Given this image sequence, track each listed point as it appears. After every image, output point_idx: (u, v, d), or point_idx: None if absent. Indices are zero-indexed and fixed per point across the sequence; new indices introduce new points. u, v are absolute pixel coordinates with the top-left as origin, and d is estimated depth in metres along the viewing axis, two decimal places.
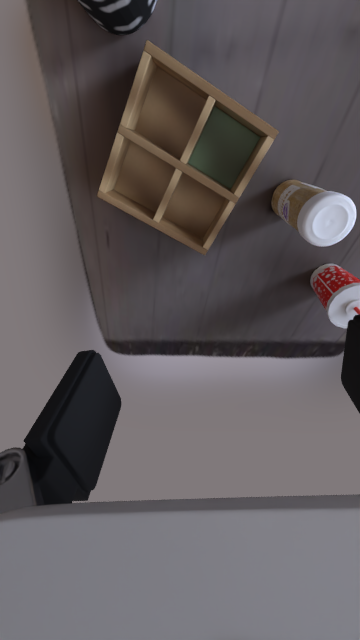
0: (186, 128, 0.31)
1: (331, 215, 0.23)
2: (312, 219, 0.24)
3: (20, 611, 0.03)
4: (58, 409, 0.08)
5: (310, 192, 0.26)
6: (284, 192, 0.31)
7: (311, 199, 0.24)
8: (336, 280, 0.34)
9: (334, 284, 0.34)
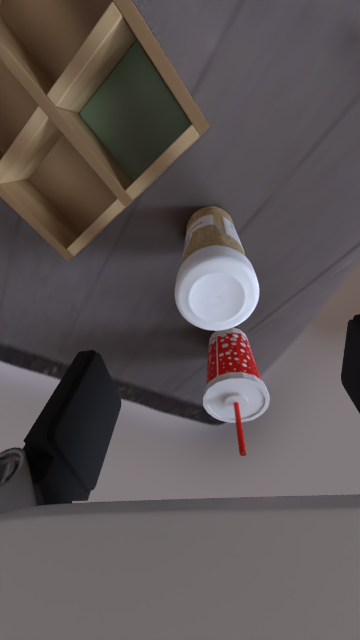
0: None
1: (221, 289, 0.14)
2: (191, 283, 0.14)
3: (20, 611, 0.03)
4: (58, 409, 0.08)
5: (215, 237, 0.16)
6: (197, 221, 0.21)
7: (203, 250, 0.14)
8: (229, 357, 0.26)
9: (225, 363, 0.26)
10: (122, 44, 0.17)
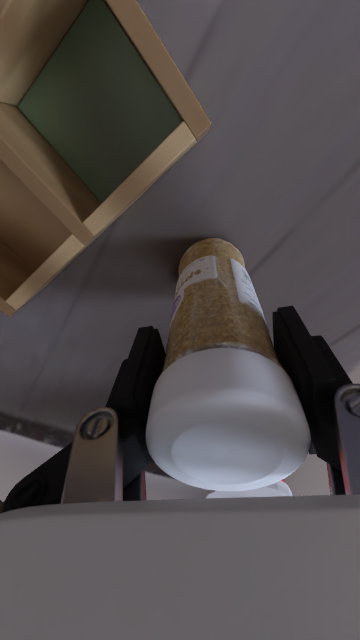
0: None
1: (237, 442, 0.07)
2: (175, 433, 0.07)
3: (20, 611, 0.03)
4: (136, 374, 0.09)
5: (221, 314, 0.09)
6: (193, 266, 0.14)
7: (199, 360, 0.07)
8: None
9: None
10: None
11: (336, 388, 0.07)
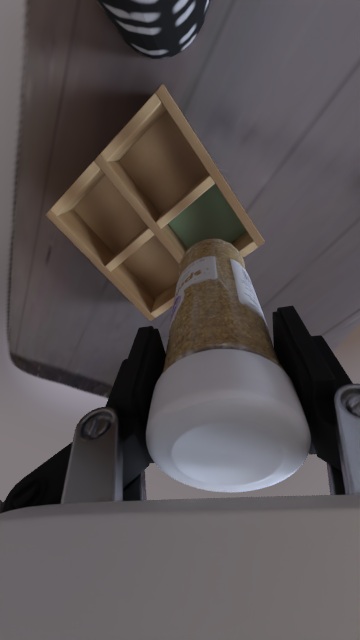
0: (176, 186, 0.27)
1: (236, 443, 0.07)
2: (176, 434, 0.07)
3: (20, 611, 0.03)
4: (136, 374, 0.09)
5: (221, 315, 0.09)
6: (193, 267, 0.14)
7: (200, 362, 0.07)
8: None
9: None
10: None
11: (336, 388, 0.07)
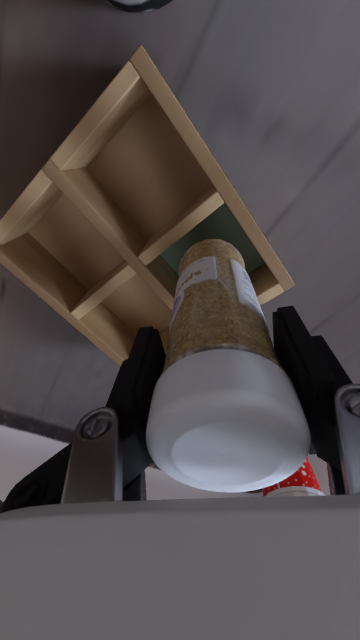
0: (169, 202, 0.19)
1: (237, 444, 0.07)
2: (176, 434, 0.07)
3: (20, 611, 0.03)
4: (136, 374, 0.09)
5: (221, 315, 0.09)
6: (193, 267, 0.14)
7: (200, 362, 0.07)
8: None
9: None
10: None
11: (336, 388, 0.07)
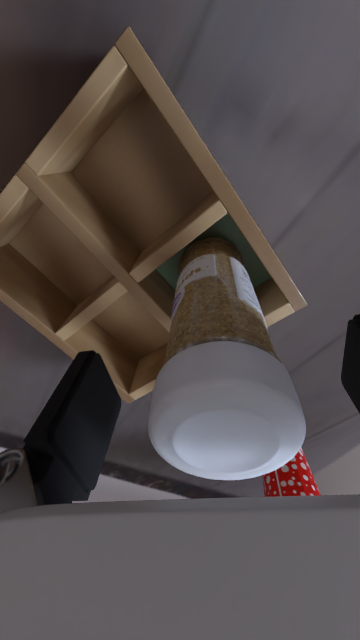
0: (164, 210, 0.17)
1: (235, 431, 0.07)
2: (176, 422, 0.07)
3: (20, 611, 0.03)
4: (58, 409, 0.08)
5: (220, 310, 0.10)
6: (193, 264, 0.14)
7: (199, 353, 0.08)
8: (294, 491, 0.24)
9: None
10: None
11: None
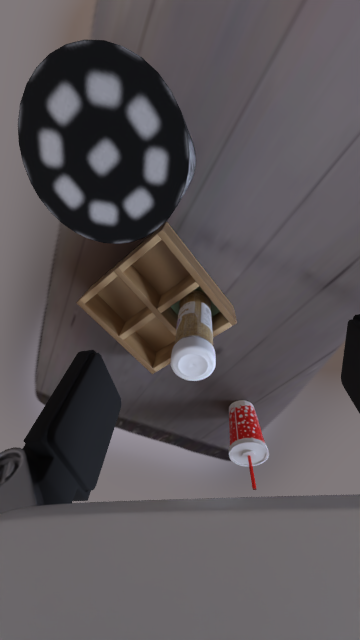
0: (172, 278, 0.37)
1: (195, 361, 0.26)
2: (179, 358, 0.26)
3: (20, 611, 0.03)
4: (58, 409, 0.08)
5: (193, 326, 0.29)
6: (185, 306, 0.34)
7: (185, 339, 0.27)
8: (244, 426, 0.43)
9: (242, 430, 0.43)
10: None
11: None
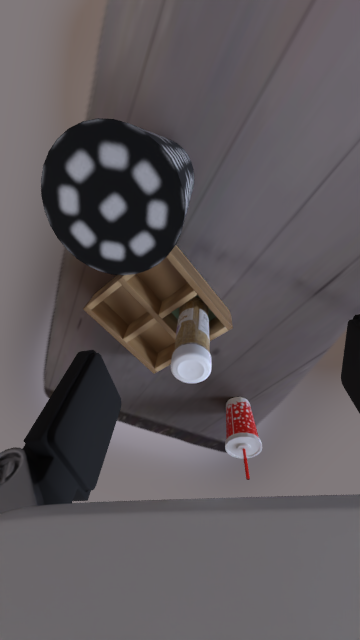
0: (172, 285, 0.39)
1: (192, 366, 0.29)
2: (178, 363, 0.29)
3: (20, 611, 0.03)
4: (58, 409, 0.08)
5: (191, 334, 0.32)
6: (184, 312, 0.36)
7: (184, 346, 0.29)
8: (239, 421, 0.46)
9: (237, 425, 0.46)
10: None
11: None
